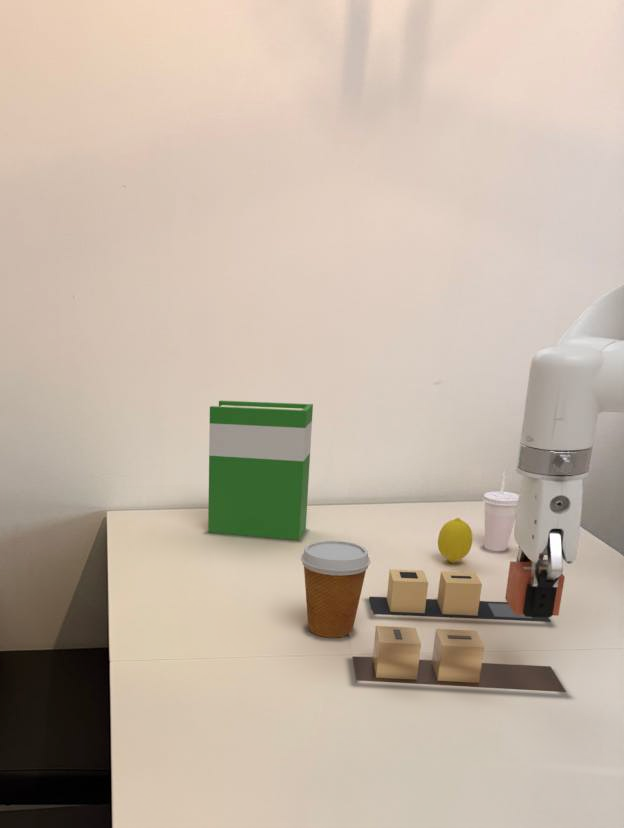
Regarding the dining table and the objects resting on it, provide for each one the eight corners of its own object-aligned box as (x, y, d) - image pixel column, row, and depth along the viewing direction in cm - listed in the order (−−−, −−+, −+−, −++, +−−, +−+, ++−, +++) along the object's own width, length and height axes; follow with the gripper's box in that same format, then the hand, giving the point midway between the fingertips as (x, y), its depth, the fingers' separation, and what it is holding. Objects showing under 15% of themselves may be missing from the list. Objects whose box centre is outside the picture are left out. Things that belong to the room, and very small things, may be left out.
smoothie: (504, 541, 160) (515, 466, 154) (520, 552, 154) (533, 475, 149) (470, 542, 159) (480, 468, 154) (485, 554, 154) (496, 476, 148)
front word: (550, 669, 112) (557, 630, 110) (565, 694, 106) (573, 653, 104) (352, 658, 116) (355, 621, 114) (356, 683, 109) (359, 643, 107)
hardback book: (208, 532, 168) (209, 406, 159) (217, 521, 174) (220, 400, 165) (299, 540, 162) (306, 411, 153) (305, 528, 169) (313, 404, 160)
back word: (538, 605, 132) (543, 571, 129) (550, 624, 125) (557, 588, 123) (369, 598, 135) (372, 565, 133) (373, 616, 129) (376, 581, 127)
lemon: (448, 555, 153) (453, 511, 150) (475, 563, 149) (482, 518, 146) (428, 561, 150) (433, 517, 147) (456, 570, 146) (462, 525, 143)
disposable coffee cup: (356, 647, 119) (363, 565, 114) (288, 636, 123) (293, 556, 118) (370, 622, 127) (377, 544, 122) (306, 612, 131) (311, 536, 126)
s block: (547, 599, 108) (553, 561, 106) (558, 615, 103) (565, 575, 101) (505, 598, 109) (510, 560, 107) (514, 614, 104) (520, 575, 102)
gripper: (614, 479, 91) (585, 637, 98) (566, 443, 106) (545, 582, 113) (538, 479, 92) (515, 635, 99) (502, 443, 107) (484, 580, 114)
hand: (531, 605), depth 106 cm, fingers closed on s block, 5 cm apart
